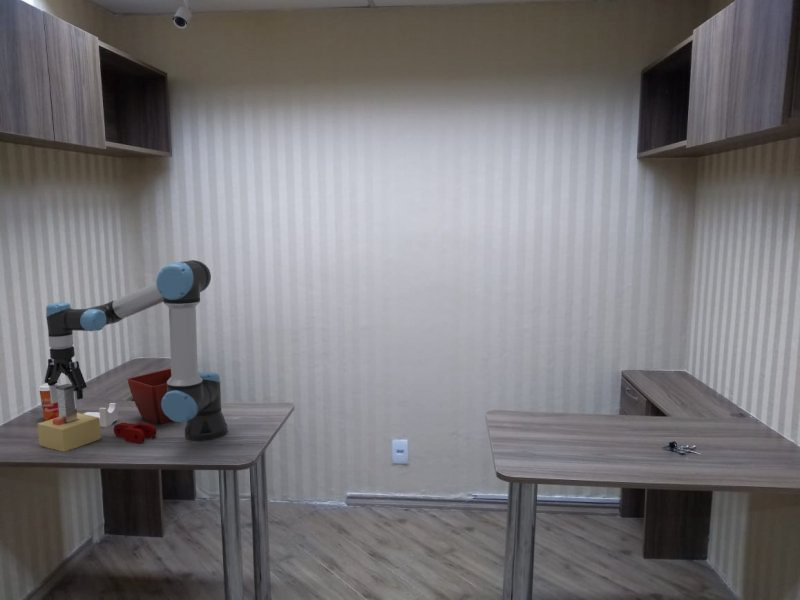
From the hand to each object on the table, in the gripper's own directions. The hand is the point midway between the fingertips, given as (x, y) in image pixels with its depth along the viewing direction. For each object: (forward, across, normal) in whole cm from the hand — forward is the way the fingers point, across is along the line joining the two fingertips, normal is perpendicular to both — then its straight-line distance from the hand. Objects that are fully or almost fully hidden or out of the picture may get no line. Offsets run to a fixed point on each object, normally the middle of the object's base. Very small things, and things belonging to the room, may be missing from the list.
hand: (67, 405), depth 214 cm
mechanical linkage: (+14, -17, -13) cm, 25 cm away
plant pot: (+14, -9, -34) cm, 38 cm away
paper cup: (+14, +31, -13) cm, 36 cm away
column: (+14, 0, 0) cm, 14 cm away
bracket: (+14, +9, -17) cm, 24 cm away
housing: (+14, 0, 0) cm, 14 cm away
